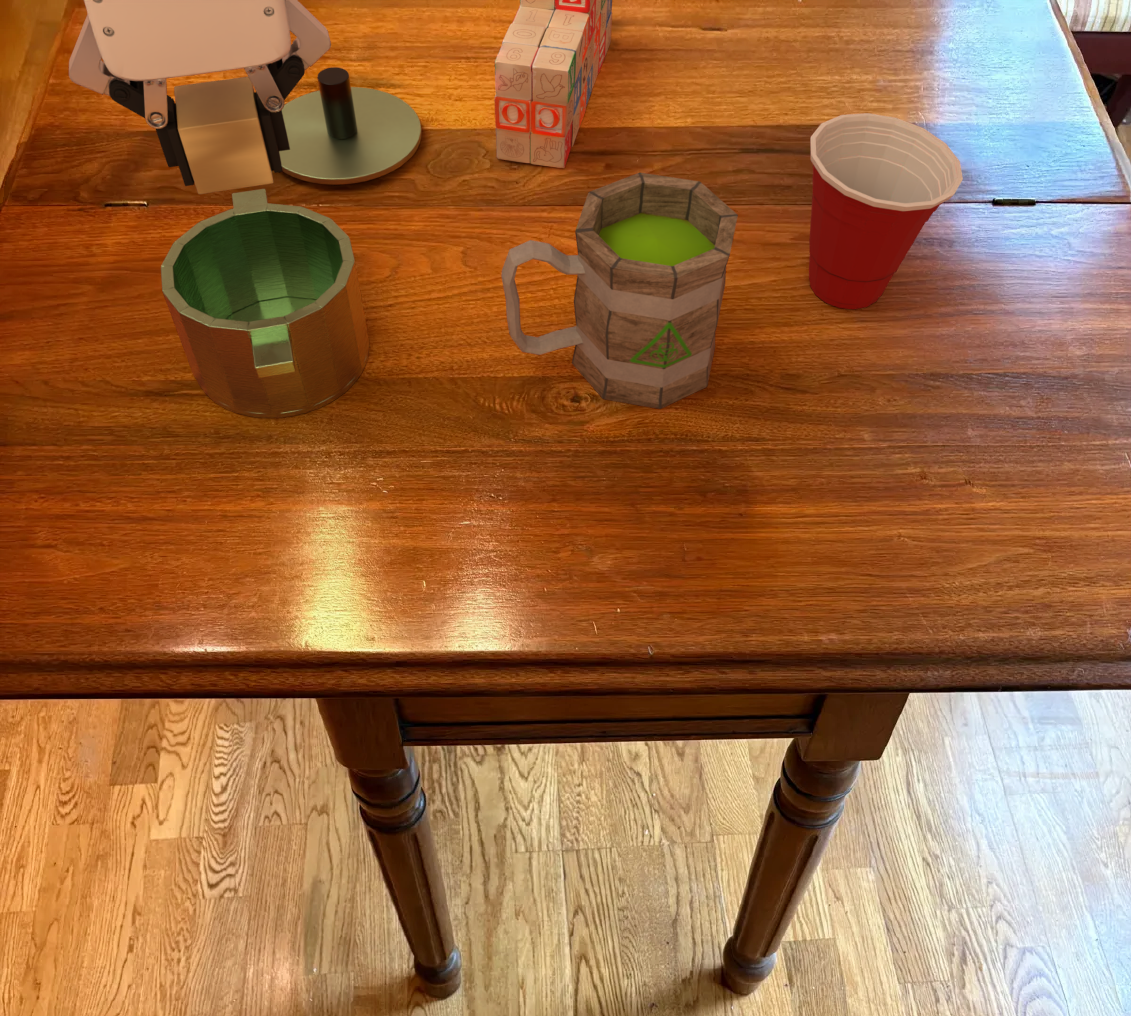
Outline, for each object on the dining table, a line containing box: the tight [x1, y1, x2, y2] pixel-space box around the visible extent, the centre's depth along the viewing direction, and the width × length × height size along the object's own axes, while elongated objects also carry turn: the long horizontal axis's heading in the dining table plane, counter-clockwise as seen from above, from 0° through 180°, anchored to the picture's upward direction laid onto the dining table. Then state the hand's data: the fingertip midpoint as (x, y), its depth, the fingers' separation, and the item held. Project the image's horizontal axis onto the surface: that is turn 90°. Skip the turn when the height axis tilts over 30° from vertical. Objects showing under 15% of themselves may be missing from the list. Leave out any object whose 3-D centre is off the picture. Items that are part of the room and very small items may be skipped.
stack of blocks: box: [493, 0, 613, 169], centre depth 94 cm, size 21×6×12 cm, turn 168°
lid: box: [279, 66, 423, 186], centre depth 92 cm, size 14×14×6 cm
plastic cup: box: [808, 112, 964, 310], centre depth 80 cm, size 11×11×12 cm
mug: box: [501, 172, 739, 410], centre depth 74 cm, size 16×11×12 cm
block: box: [173, 76, 274, 195], centre depth 65 cm, size 4×4×4 cm
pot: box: [160, 188, 371, 419], centre depth 75 cm, size 13×18×8 cm
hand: (232, 163), depth 66 cm, fingers closed on block, 4 cm apart
